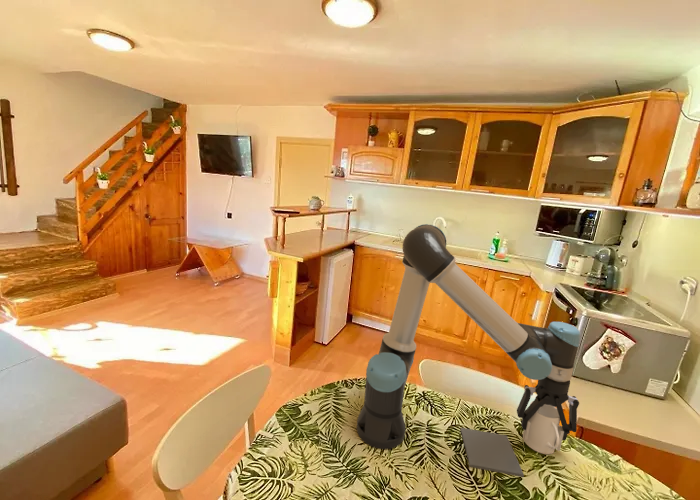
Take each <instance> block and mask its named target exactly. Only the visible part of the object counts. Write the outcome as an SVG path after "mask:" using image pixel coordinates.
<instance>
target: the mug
mask: <svg viewBox="0 0 700 500" xmlns="http://www.w3.org/2000/svg"><path fill="white" fill-rule="evenodd" d="M533 401H534V400H532V401H531V402H530V404H529V406H530V405H531V403H532V402H533ZM530 422H531V425H530V430H529V435H528V440H527V442H526V441H524V438H523V437H522V438H523V441H524V443H525V444H526V445H527V446H528V447H529V448H530V449H532V451H535V452H537V453H539V454H544V455H551V454H552V455H553V454H554V452H555V450H556V448H557V447H558V445H559V433H558V428H559V425H560V423H561V421H560V416H559V414H558V411H557V408H556V407H554V406H551V405H546V404H544V405H543V406H542V407H540V408H539V409H538V410H537V412H536V413H535V414H534V415H533V416H532V417H531V418H530ZM555 441H556V444H555Z"/></svg>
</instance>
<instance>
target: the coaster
mask: <svg viewBox="0 0 700 500" xmlns="http://www.w3.org/2000/svg"><path fill="white" fill-rule="evenodd" d="M460 435H461V437H462V441H463V445H464V449H465V453H466V454H465V455H466V457H467V461H468V465H469V468H474V469H480V470H485V471H488V472H489V471H490V472H495V473H501V474H505V475H511V476H516V477H522V478H524V476H525V474H524V471H523V470H522V468H521V465H520V462H519V461H518V460H519V459H518V458H517V456H516V454H515V451H514V449H513V447H512V445H511V442H510V440H509V438H508V435H506V434H499V433H495V432H488V431H482V430H476V429H471V428H464V427H460Z"/></svg>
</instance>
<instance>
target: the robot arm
mask: <svg viewBox="0 0 700 500" xmlns="http://www.w3.org/2000/svg"><path fill="white" fill-rule="evenodd" d="M402 252H403V257H402V262H401V263H402V264H403V266H404V268H405V269H404V273H403V277H402V280H401V283H400V288H399V290H398V291H399V292H398V296H397V300H396V304H395V307H394V310H393V315H392V319H391V322H390V325H389V326H390V327H389V330H388V332H386V333H385V334H383V337H382V340H381V342H380V343H381V344H380V347H379V352H378V354H377V353H376V354H374V355H373V356H371V358H370V359H369V361H368V363H367V366H366V369H365V370H366V373H365V376H366V377H365V378H366V379H365V388H364V389H365V390H364V401H363V403H364V404H363V405H362V408H361V410H360V412H359V414H358V417H357V420H356V431H357V434H358V436H359V438H360V439H361V441H362V442H364V443H365V444H367V445H369V446H370V447H372V448H376V449H379V450H389V449H394V448H396V447H398V446H399V445H401V444H402V442H403V441H404V439H405V437H406V424H405V420H404V416H403V412H402V410H403V403H404V402H403V401H404V393H405V387H406V384H407V381H408V377H409V374H410V371H411V367H412V365H413V363H414V360H415V359H414V358H415V357H414V356H415V354H416V350H417V343H416V342H415V337H416V333H417V331H418V330H417V329H418V327H419V322H420V319H421V316H422V312H423V307H424V304H425V301H426V297H427V294H428V290H429V286H430V283H431V284H435V285H436V286H438V288H440V290H441V291H442V292H444V293H445V295H447V296H448V297H449V298H450V299H451V300H452V301H453V302H454V303H455V304H456V305H457V306H458V307H459V309H461V311H463V312H464V313H465V314H466V315H467V316H468V317H469V318H470V319H471V320H472V321H473V322H474V323H475V324H476V325H477V326H478V327H480V329H482V331H483V332H484V333H485V334H486V335H488V336H489V338H491V340H492V341H494V343H496V344H497V346H499V347H500V348H501V350H503V351H504V352H505V354H506V355H508V356H509V358H511V359H512V360H513V361H514V362H515V363H516V364H515V365H516V367H517V369H518V371H520V373H521V375H523V376H524V377H526V378H528V379H530V380H535V381H537V384H536V385H535V386H533V387H532V386H529V385H528V384H525V385H524V392H523V394H522V397H521V399H520V402H519V404H518V406H517V408H516V415H517V417H518V418H519V419H521V424H520V426H521V429H522V430H523V432H522V438H524V440H523V441H526V442H527V440H528V435H529V430H530V425H531V422H530V418H531V417H532V416H533V415H534V414H535V413H536V412H537V410H538V409H539V408H540V407H542V406H543V405H544V404H546V405H551V406H554V407H555V408H557V411H558V414H559V416H560V423H561V424H559V428H558V433H559V445H558V447H557V448H556V449H555V450H556V451H558V452H561V447H562V443H563V441H565V442H566V440H567V438H568V435H570V434H571V432H573V433H576V432H577V429H578V428H577V427H578V426H577V425H578V414H577V413H578V407H579V406H580V401H579V399H578V398H577V397H576V396H574V395H572V396H571V395H569V394H568V393H569V391H570V385H571V380H572V376H573V372H574V366H575V362H576V357H577V354H578V350H579V347H580V339H581V331H580V330H579V329H578V328H577V327H576V326H574V325H572V324H570V323H567V322H563V321H551V322H549V325H548V326H547V327H540V326H536V325H535V326H534V325H532V324H531V325H530V324H525V323H519V322H517V321H516V320H514V318H512V316H511V315H510V314H508V312H506V311H505V310H504V308H502V307H501V306H500V305H499V304H498V302H496V301H495V300H494V299H493V298H492V297H491V296H490V295H488V293H487V292H485V290H484V289H482V287H481V286H479V285H478V284H477V283H476V281H474V280H473V279H472V278H471V277H470V276H469V275H468V274H467V273H466V272H465V271H464V270H463V269H462V268H461V267H460V266H459V265H457V264H456V263H457V262H456V257H455V256H454V255H453V254H452V253H451V251H449V250H448V249H447V237H446V234H445V233H444V232H443V230H442V229H440V228H439V227H438V226H436V225H433V224H428V223H426V224H420V225H418V226H416V227H415V228H413V229H412V230H410V231H409V232H408V233H407V234H406V236H405V237H404V238H403V241H402ZM534 393H535V394H536V396H535V398H534V399H533V400H532V401H533V402H532V401H531V396H533V395H534ZM530 401H531V402H532V403H531V402H530ZM567 401H568V422H567V419H566V416H565V413H564V408H563V405H562V404H564V403H565V402H567ZM529 402H530V403H531V405H530V404H529ZM528 404H529V406H528ZM555 444H556V441H555Z"/></svg>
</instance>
